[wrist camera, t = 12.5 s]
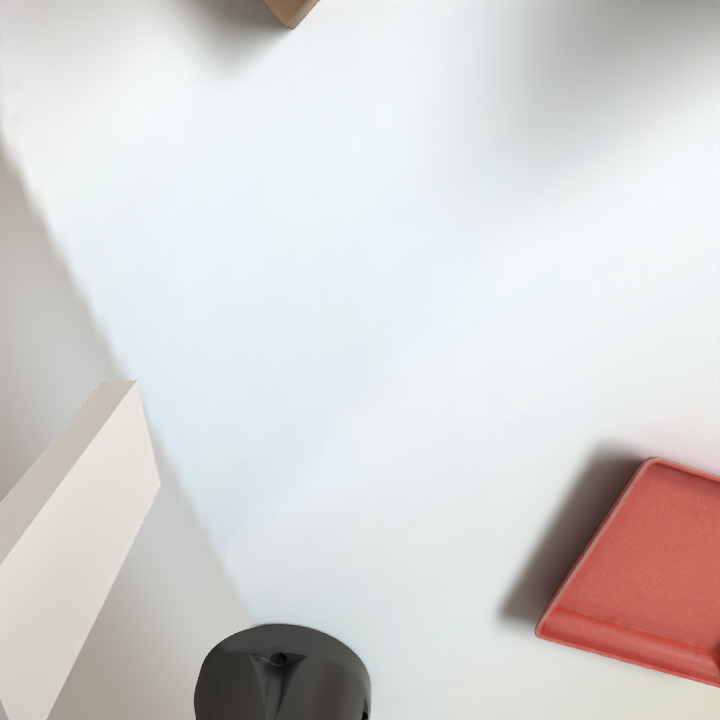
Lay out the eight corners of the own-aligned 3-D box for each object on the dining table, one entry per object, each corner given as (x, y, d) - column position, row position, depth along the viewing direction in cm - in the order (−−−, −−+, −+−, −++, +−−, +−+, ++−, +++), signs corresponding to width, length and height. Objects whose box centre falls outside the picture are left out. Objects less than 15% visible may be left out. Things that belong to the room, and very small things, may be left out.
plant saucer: (714, 660, 55) (734, 694, 52) (522, 606, 53) (531, 639, 50) (849, 499, 48) (881, 529, 45) (632, 428, 45) (650, 454, 42)
